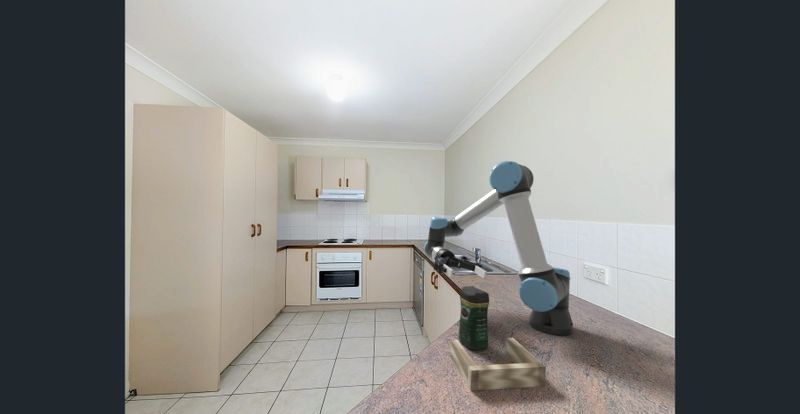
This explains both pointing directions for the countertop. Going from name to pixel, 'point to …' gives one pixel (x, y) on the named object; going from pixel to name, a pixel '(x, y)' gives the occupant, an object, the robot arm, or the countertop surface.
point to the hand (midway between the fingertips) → (468, 274)
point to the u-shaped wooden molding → (500, 369)
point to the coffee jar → (474, 318)
